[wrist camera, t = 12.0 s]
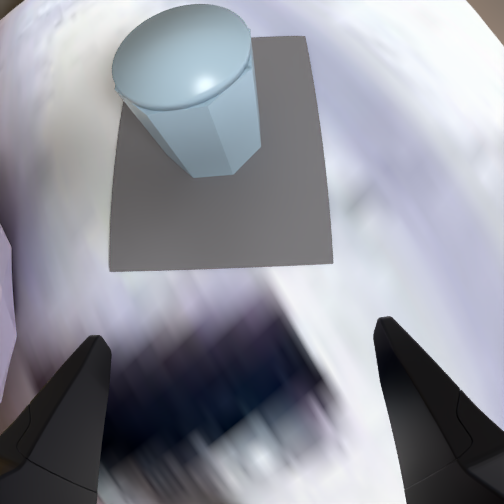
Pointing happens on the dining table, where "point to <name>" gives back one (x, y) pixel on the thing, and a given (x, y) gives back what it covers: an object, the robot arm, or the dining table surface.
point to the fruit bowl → (6, 310)
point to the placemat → (230, 185)
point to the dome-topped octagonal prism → (193, 87)
